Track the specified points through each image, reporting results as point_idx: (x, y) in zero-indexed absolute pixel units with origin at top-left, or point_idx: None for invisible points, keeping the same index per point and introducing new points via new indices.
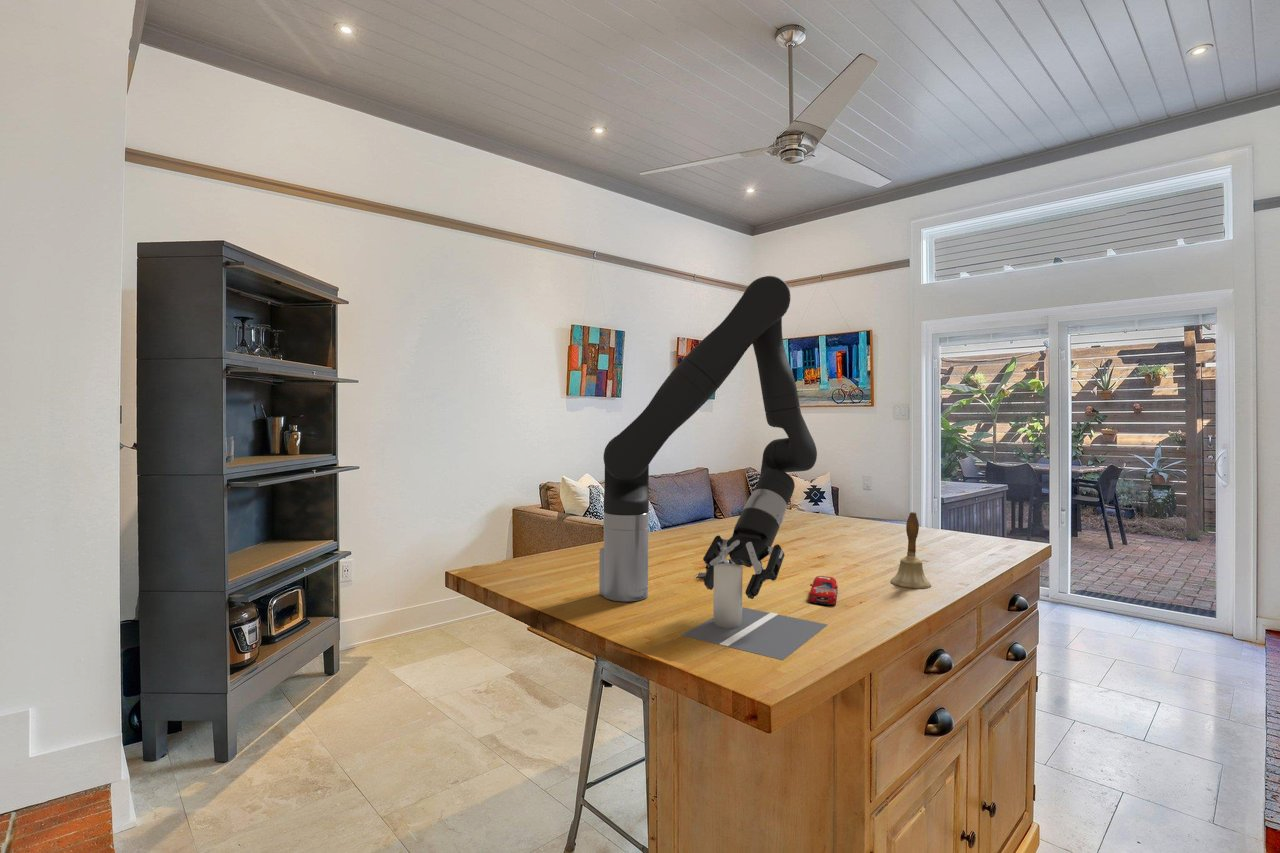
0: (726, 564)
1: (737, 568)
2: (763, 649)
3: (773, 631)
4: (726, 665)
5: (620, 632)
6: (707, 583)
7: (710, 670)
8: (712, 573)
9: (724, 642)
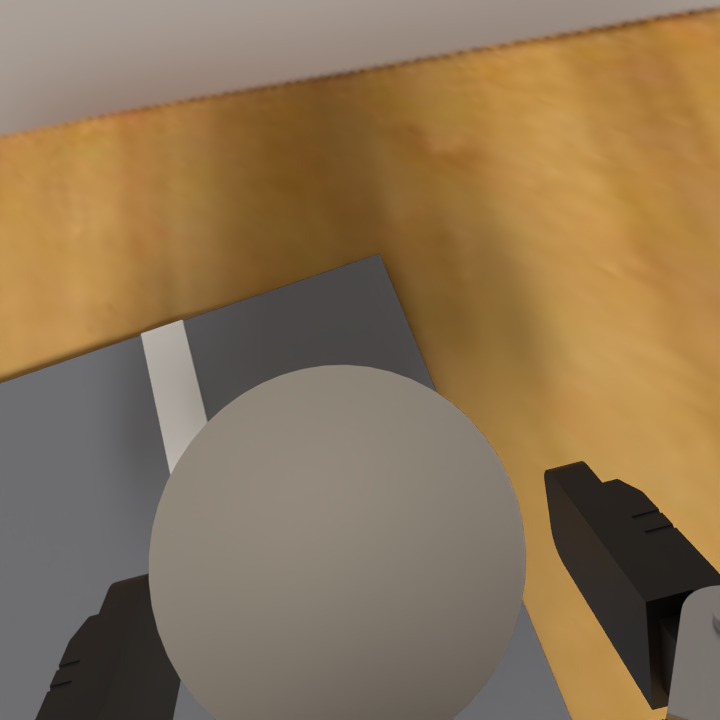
0: (436, 611)
1: (188, 572)
2: (6, 442)
3: None
4: (54, 239)
5: (581, 102)
6: (546, 470)
7: (68, 173)
8: (601, 549)
9: (176, 347)
